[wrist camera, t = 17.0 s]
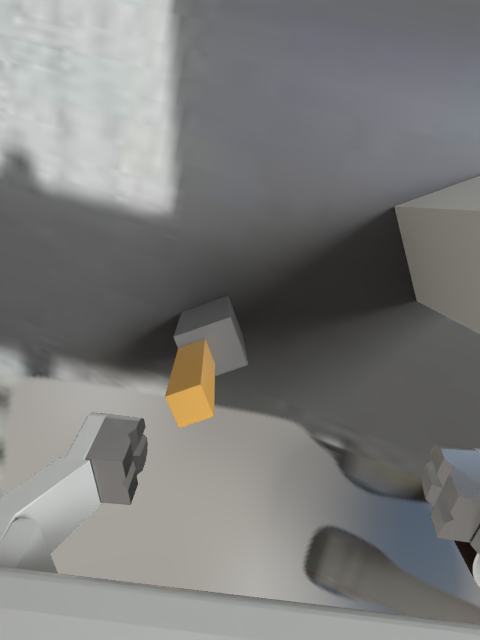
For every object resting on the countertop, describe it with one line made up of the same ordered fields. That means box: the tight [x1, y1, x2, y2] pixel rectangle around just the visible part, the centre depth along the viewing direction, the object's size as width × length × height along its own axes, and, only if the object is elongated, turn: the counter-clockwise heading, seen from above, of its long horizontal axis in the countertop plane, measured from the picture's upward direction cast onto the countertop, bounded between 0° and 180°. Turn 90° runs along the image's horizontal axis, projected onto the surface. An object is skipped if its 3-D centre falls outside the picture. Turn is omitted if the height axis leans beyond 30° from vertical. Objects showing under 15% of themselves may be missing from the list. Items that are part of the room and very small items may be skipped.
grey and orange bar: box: [165, 296, 248, 428], centre depth 35 cm, size 17×4×5 cm
